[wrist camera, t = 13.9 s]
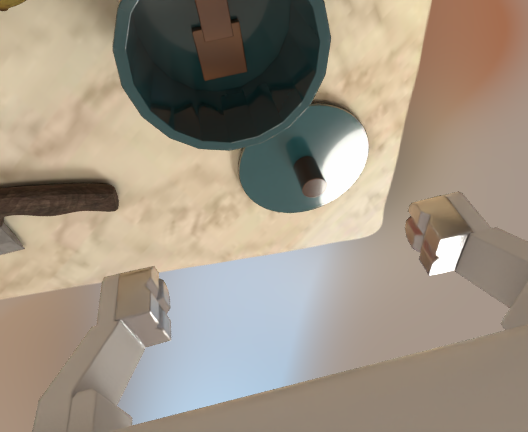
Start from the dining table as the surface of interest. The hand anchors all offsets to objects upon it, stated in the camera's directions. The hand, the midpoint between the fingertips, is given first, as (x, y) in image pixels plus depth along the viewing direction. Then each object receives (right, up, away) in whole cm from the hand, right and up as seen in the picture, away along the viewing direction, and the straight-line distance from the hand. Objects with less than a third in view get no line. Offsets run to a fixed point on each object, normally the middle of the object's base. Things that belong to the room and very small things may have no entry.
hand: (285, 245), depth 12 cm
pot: (-5, +18, +20) cm, 27 cm away
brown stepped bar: (-5, +17, +20) cm, 27 cm away
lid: (+4, +7, +33) cm, 34 cm away
